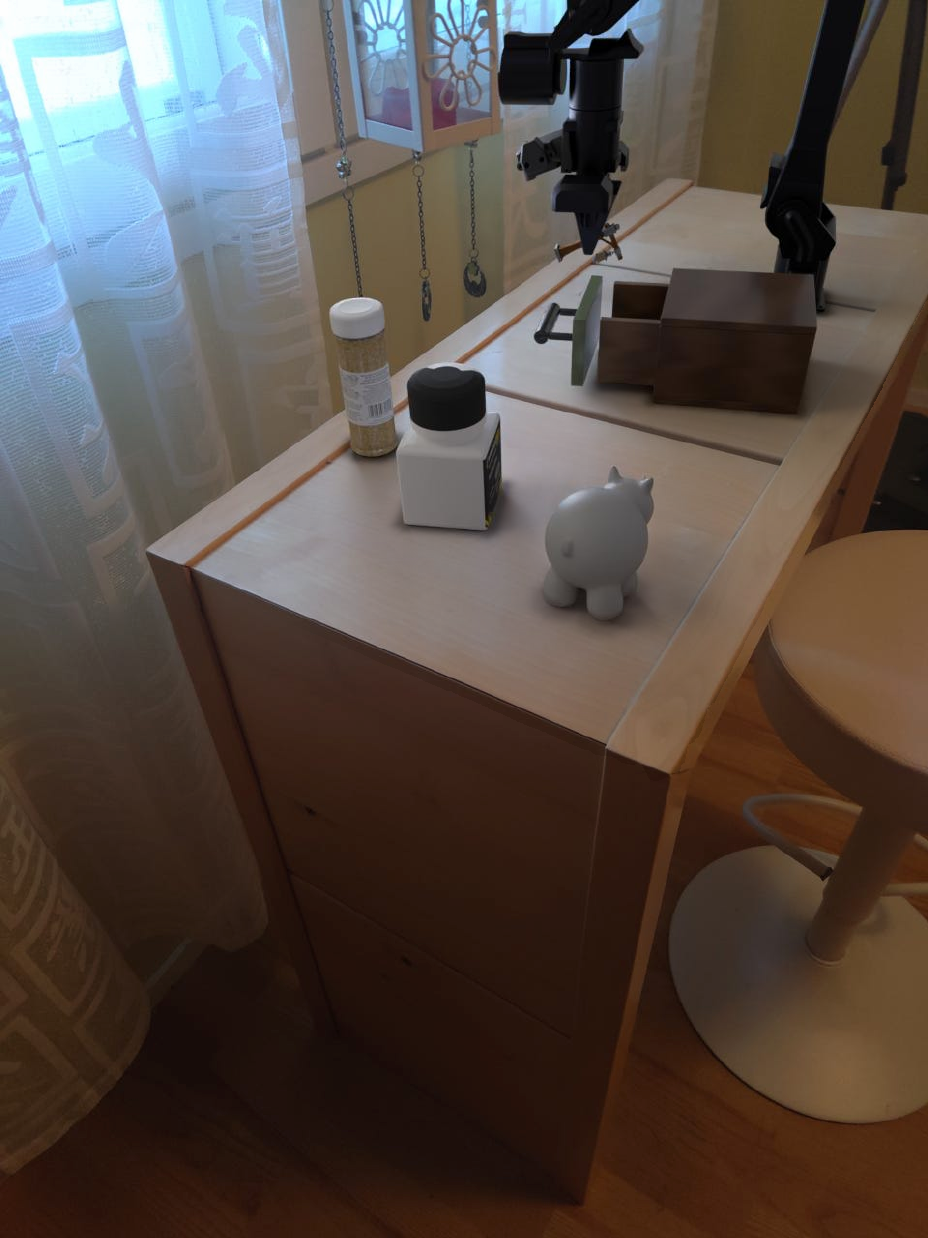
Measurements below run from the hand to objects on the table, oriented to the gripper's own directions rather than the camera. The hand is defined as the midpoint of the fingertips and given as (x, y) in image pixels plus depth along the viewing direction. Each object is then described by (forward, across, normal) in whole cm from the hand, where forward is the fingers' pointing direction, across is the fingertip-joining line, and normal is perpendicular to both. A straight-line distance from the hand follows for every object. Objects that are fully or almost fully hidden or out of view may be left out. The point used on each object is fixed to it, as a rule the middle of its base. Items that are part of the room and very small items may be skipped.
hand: (589, 251), depth 107 cm
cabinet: (+4, +22, +18) cm, 29 cm away
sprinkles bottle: (+4, +41, -14) cm, 43 cm away
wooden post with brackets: (+1, 0, 0) cm, 1 cm away
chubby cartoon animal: (+5, +56, +10) cm, 57 cm away
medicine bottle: (+4, +49, -4) cm, 49 cm away
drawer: (+3, +22, +7) cm, 23 cm away
